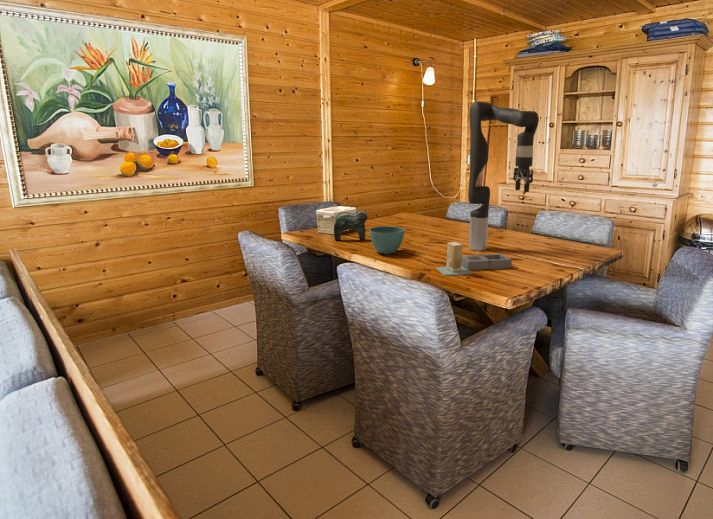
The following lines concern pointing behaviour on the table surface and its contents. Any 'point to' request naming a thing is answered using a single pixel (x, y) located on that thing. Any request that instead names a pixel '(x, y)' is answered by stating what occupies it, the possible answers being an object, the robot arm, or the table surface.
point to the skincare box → (454, 256)
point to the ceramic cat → (350, 224)
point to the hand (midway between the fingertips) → (521, 191)
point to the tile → (449, 273)
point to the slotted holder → (485, 262)
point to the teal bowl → (386, 238)
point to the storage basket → (331, 218)
